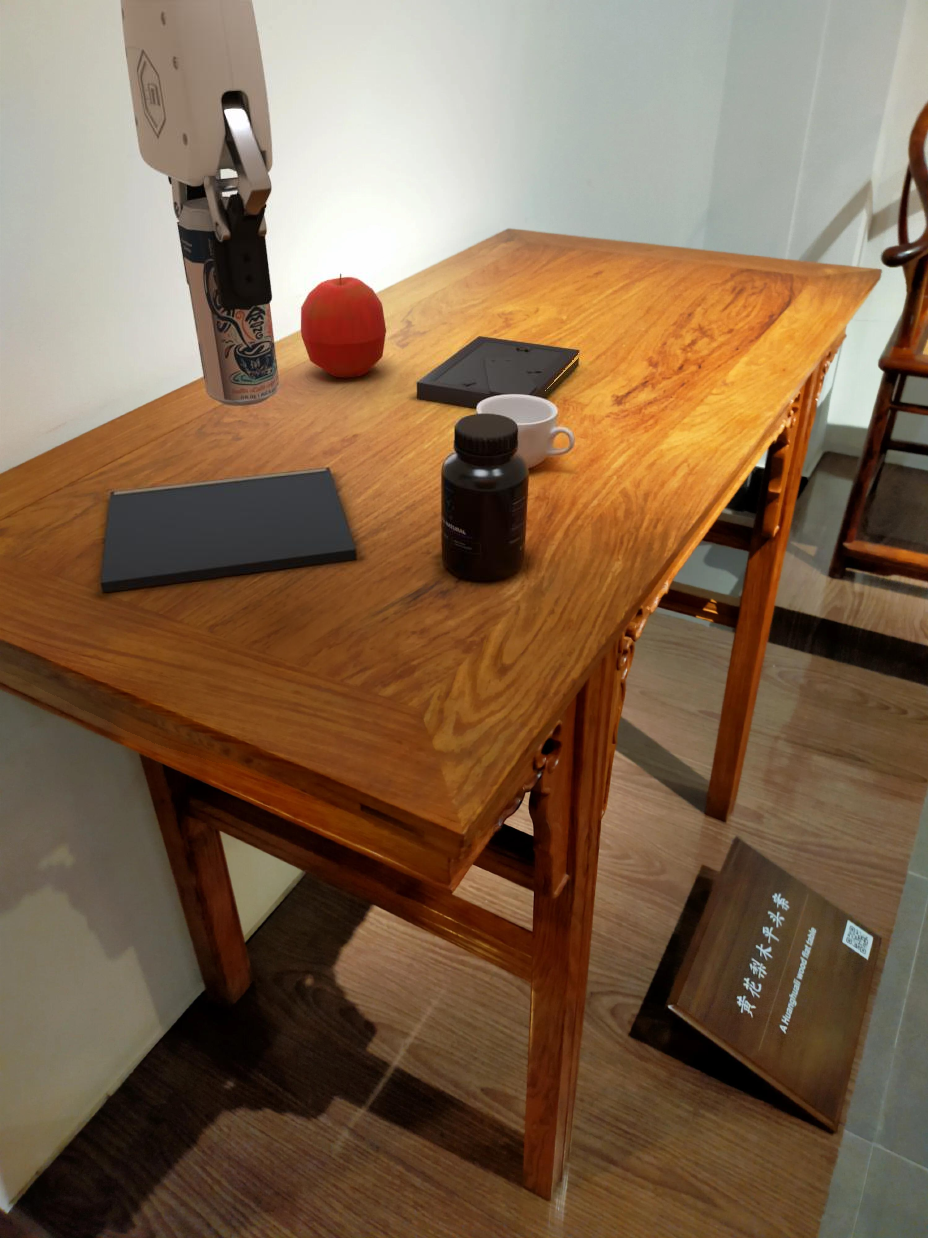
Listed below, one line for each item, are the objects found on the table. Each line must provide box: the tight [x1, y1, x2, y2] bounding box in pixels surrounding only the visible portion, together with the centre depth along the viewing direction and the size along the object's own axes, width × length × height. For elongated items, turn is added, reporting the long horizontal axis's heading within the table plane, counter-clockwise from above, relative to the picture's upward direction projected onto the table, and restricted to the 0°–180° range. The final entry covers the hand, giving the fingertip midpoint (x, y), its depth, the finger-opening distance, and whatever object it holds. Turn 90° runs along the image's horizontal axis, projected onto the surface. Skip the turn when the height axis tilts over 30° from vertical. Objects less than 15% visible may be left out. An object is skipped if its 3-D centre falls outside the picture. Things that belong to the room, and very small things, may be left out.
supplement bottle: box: [440, 413, 530, 582], centre depth 74 cm, size 7×7×12 cm
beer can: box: [178, 195, 280, 407], centre depth 59 cm, size 5×5×12 cm
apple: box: [300, 273, 387, 379], centre depth 110 cm, size 10×10×12 cm
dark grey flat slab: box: [100, 466, 358, 594], centre depth 81 cm, size 20×16×1 cm
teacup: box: [475, 394, 576, 470], centre depth 91 cm, size 10×8×5 cm
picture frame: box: [416, 335, 580, 409], centre depth 110 cm, size 13×2×18 cm
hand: (228, 291), depth 59 cm, fingers closed on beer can, 4 cm apart
